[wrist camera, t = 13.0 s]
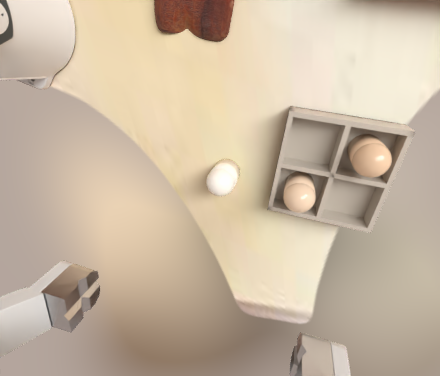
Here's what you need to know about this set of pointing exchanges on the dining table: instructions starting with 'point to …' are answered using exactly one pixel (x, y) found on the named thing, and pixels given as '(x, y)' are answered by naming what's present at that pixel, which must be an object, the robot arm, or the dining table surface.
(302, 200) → the seated egg
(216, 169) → the white egg
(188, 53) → the dining table surface
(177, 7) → the brown flat tapered piece
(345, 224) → the carton
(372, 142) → the brown egg
